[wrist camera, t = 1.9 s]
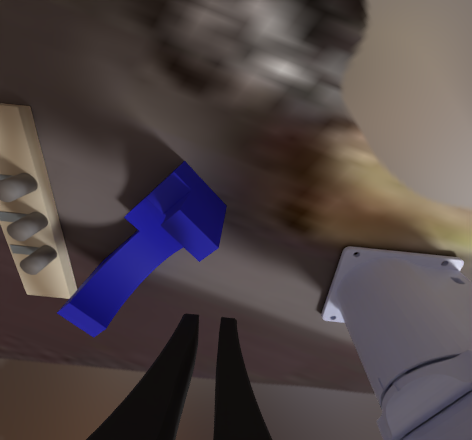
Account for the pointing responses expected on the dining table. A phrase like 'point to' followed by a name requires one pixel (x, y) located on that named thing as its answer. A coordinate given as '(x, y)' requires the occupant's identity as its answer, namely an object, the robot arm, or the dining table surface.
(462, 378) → the robot arm
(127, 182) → the dining table surface
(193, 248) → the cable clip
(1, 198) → the coat hook rack
